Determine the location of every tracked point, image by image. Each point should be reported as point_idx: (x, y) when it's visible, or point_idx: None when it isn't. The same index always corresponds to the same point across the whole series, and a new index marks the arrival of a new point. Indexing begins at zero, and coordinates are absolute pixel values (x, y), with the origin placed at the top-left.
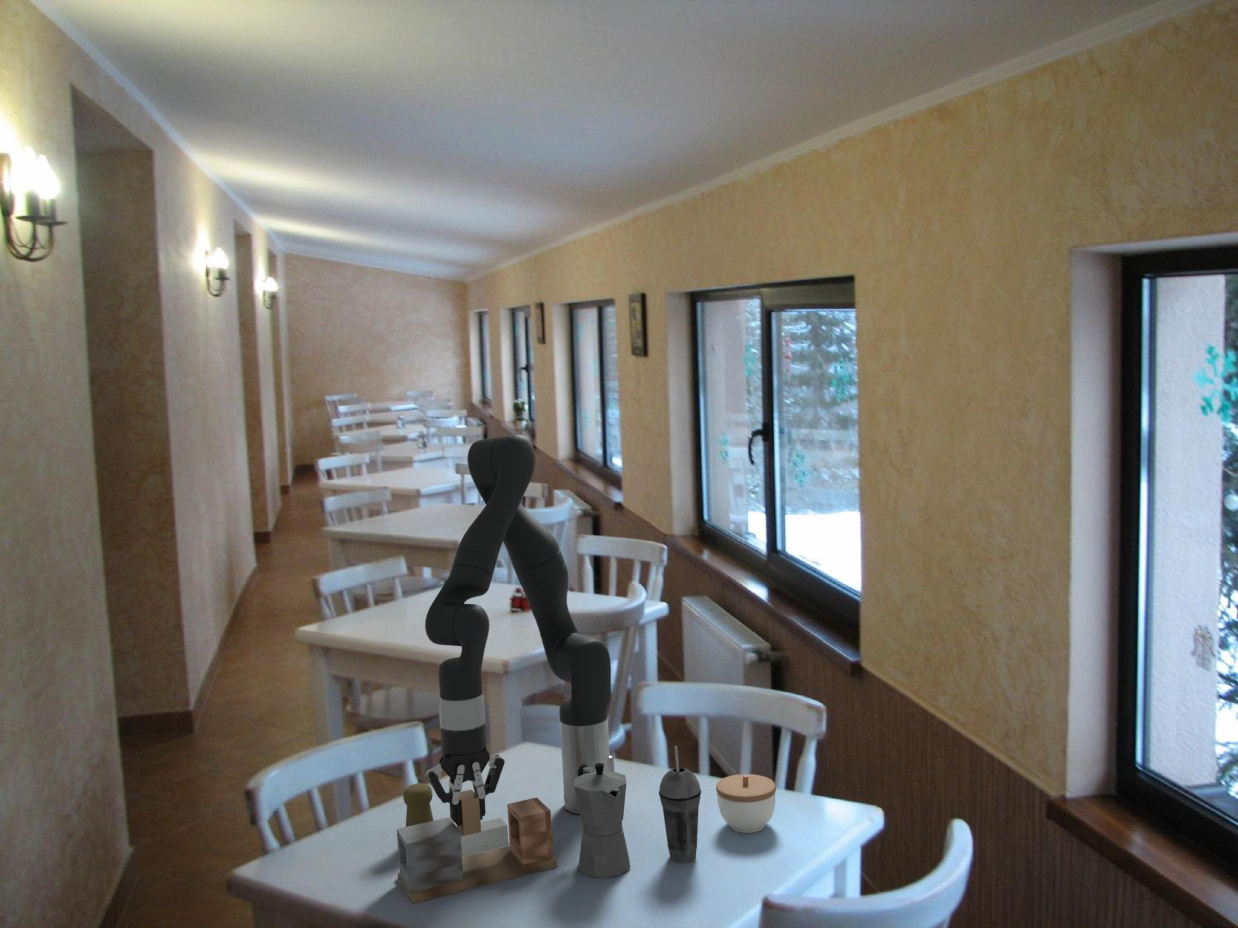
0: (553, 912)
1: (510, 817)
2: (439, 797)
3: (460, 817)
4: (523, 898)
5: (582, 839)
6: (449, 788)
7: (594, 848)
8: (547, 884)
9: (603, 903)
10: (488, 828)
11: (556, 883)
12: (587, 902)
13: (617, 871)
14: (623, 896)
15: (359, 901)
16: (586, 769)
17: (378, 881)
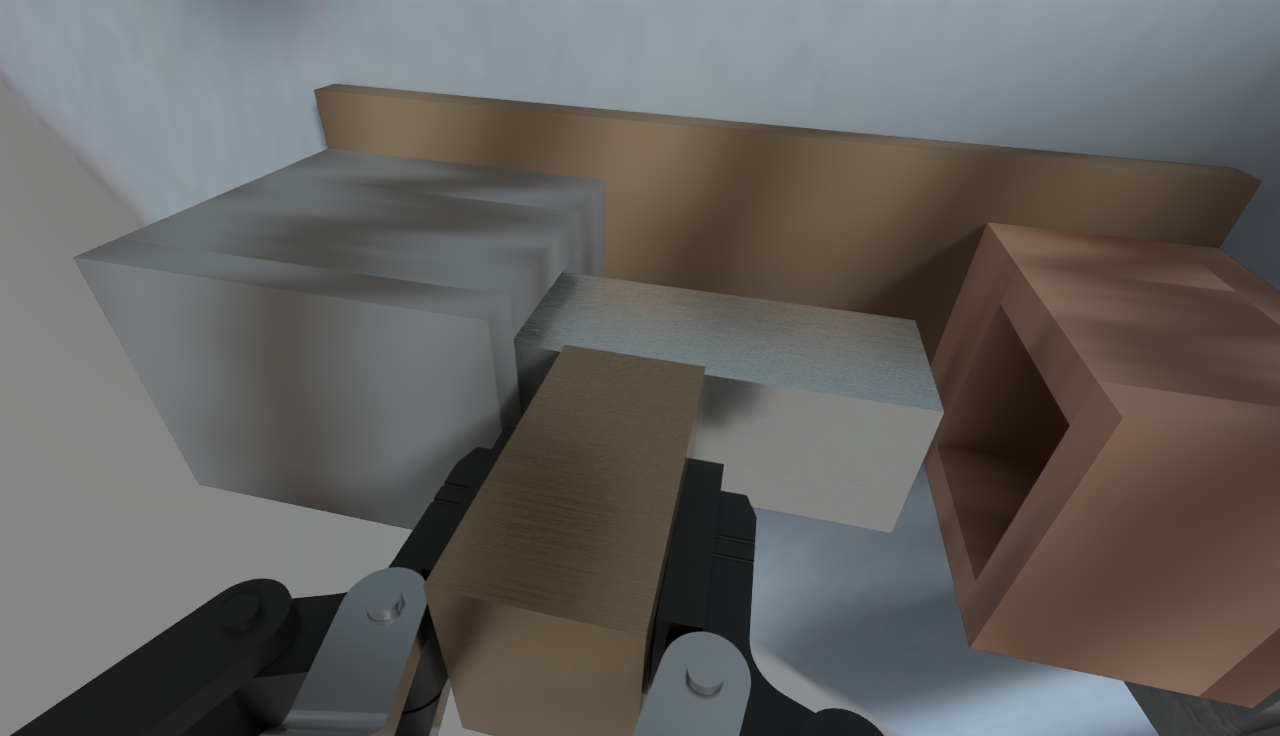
0: (790, 643)
1: (1053, 391)
2: (222, 702)
3: None
4: (762, 547)
5: (1175, 701)
6: (300, 713)
7: (1152, 723)
8: (898, 534)
9: (947, 694)
10: (754, 493)
11: (931, 548)
12: (914, 667)
13: None
14: (1031, 707)
15: (188, 204)
16: None
17: (239, 52)
